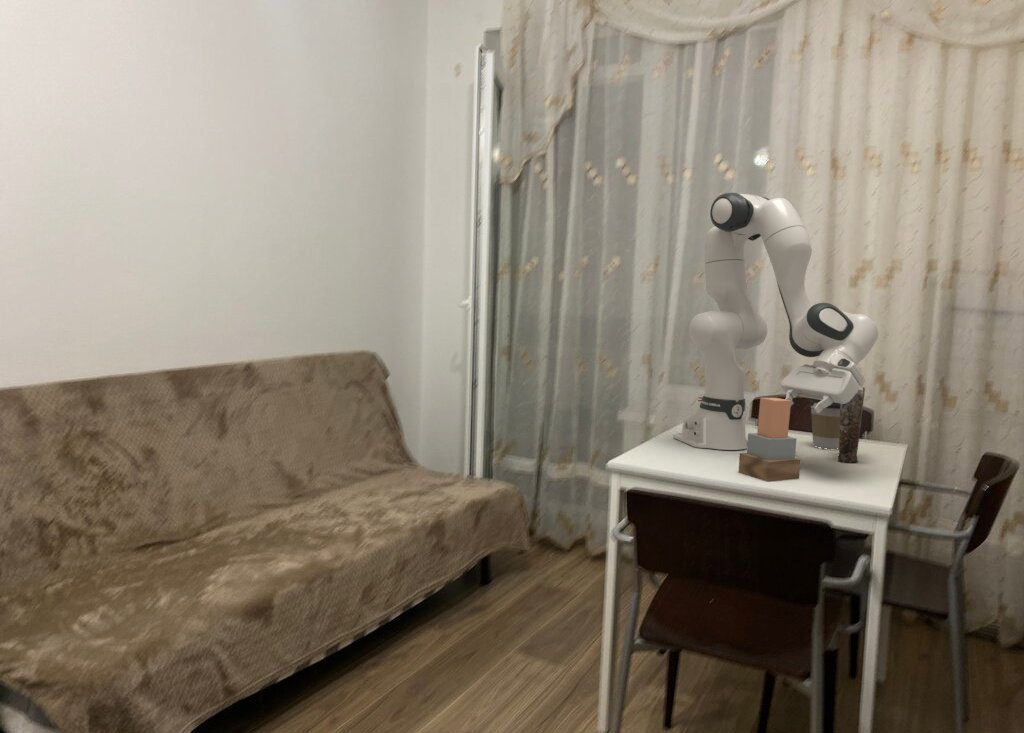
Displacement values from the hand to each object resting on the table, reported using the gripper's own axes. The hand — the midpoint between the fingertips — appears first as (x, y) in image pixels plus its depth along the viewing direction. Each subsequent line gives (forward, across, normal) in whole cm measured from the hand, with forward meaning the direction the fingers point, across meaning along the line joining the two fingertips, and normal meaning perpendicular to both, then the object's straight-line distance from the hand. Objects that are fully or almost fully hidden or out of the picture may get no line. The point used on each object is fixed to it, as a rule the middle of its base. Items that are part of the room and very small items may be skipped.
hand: (799, 408), depth 195 cm
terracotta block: (+10, 0, -1) cm, 10 cm away
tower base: (+18, 0, +6) cm, 19 cm away
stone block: (-9, -10, +32) cm, 35 cm away
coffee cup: (-14, -24, +37) cm, 46 cm away
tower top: (+14, -1, +3) cm, 14 cm away
